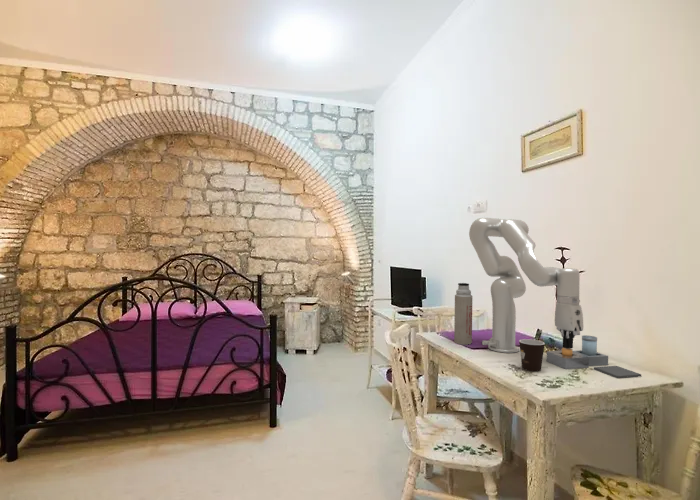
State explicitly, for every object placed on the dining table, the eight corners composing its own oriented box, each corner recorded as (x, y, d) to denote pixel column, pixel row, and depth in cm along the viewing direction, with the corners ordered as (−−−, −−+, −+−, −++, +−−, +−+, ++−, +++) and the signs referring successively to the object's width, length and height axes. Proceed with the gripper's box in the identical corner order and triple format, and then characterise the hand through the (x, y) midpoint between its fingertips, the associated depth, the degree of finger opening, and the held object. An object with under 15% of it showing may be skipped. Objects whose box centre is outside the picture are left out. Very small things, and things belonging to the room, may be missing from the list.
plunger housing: (565, 369, 144) (565, 358, 144) (546, 361, 153) (546, 351, 153) (588, 367, 146) (588, 357, 146) (568, 359, 156) (568, 350, 155)
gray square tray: (588, 366, 148) (588, 357, 148) (570, 359, 156) (570, 350, 156) (608, 364, 149) (608, 355, 149) (589, 358, 158) (589, 349, 158)
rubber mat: (617, 378, 134) (617, 376, 134) (593, 369, 144) (593, 367, 144) (641, 376, 136) (641, 374, 136) (616, 367, 146) (616, 365, 146)
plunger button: (566, 359, 147) (566, 350, 147) (559, 356, 151) (559, 347, 151) (574, 359, 148) (574, 349, 148) (567, 356, 152) (567, 347, 152)
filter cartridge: (588, 364, 150) (589, 338, 150) (578, 360, 155) (578, 335, 155) (600, 363, 151) (600, 338, 151) (589, 359, 156) (589, 335, 156)
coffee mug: (545, 373, 138) (546, 346, 138) (519, 370, 141) (519, 343, 141) (541, 364, 149) (542, 338, 149) (517, 362, 152) (518, 336, 152)
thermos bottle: (475, 343, 180) (476, 283, 180) (462, 345, 177) (463, 284, 176) (463, 339, 187) (463, 282, 187) (450, 341, 184) (451, 282, 183)
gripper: (592, 302, 143) (591, 352, 143) (562, 297, 157) (561, 342, 157) (574, 303, 141) (574, 353, 141) (546, 298, 156) (545, 343, 156)
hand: (567, 347), depth 149 cm, fingers closed
